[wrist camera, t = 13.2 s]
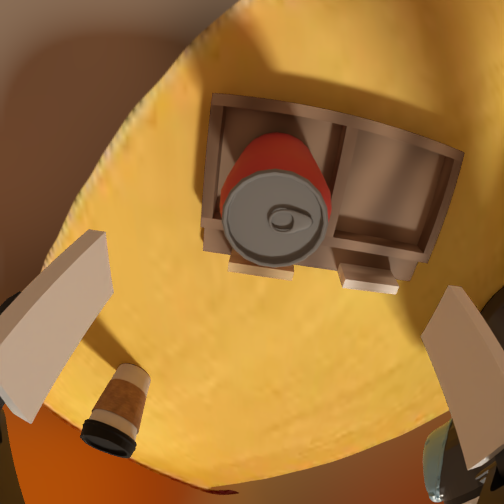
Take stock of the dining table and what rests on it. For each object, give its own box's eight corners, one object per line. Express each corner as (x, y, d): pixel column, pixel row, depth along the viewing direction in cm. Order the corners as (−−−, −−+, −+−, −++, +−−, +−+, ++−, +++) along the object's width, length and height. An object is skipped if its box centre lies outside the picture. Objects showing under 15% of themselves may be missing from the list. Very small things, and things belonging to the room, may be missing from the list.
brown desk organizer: (450, 146, 24) (471, 155, 20) (406, 276, 31) (418, 297, 28) (218, 93, 24) (209, 93, 20) (205, 246, 31) (196, 266, 28)
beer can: (312, 203, 27) (331, 277, 17) (241, 202, 28) (216, 274, 17) (315, 132, 24) (343, 161, 13) (238, 131, 24) (206, 160, 14)
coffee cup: (113, 350, 42) (75, 426, 29) (161, 371, 43) (134, 453, 30) (110, 376, 46) (80, 443, 33) (153, 394, 47) (130, 465, 34)
